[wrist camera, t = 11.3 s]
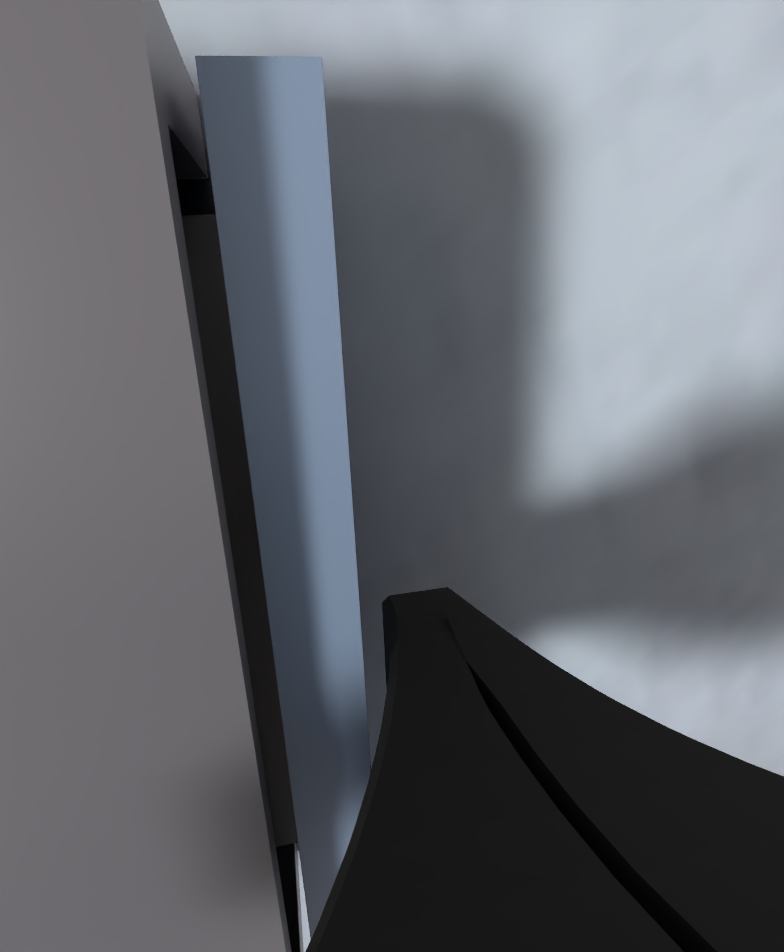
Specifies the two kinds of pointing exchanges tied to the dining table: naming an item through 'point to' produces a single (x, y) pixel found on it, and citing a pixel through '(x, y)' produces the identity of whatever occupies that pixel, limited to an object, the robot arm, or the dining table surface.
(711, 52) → the dining table surface
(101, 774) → the box
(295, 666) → the tray
